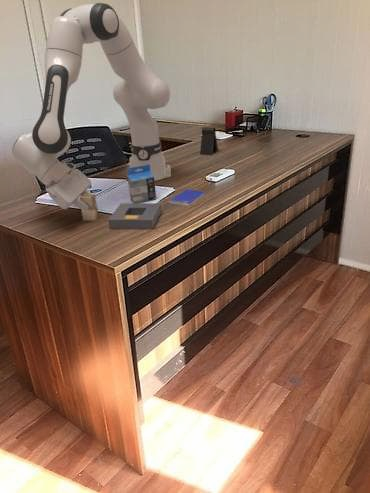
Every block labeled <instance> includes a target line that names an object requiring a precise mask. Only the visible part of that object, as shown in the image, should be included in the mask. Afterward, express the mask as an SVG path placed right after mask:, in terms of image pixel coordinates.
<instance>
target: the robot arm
mask: <svg viewBox="0 0 370 493" xmlns="http://www.w3.org/2000/svg"><path fill="white" fill-rule="evenodd" d="M96 42H99V44H100V46H101V48H102V51H103V53H104V54H105V56H106V58H107V60H108V63H109V65H110V66H111V68H112V70H113V72H114V74H116V75H117V76H118V77H119V78H121V79H119V80H117V81H116V82H115V84H114V86H113V89H112V96H113V99H114V100H115V102H116V103H117V104H118V105H119V106H120V108H121V109H122V111H123V113H124V114H125V117H126V118H127V122H128V125H129V131H130V138H131V146H130V147H131V153H132V155H131V156H130V157H129V159H128V160H129V168H132V167H137V166H143V165H149V164H150V171H151V173H152V174H153V176H154V180H155V182H156V181H160V180H163V179H166V178H171V177H172V168H171V164H166V156H165V154H164V153H163V151H162V144H161V140H160V134H159V124H158V121H157V120H156V119H155V118H154V117H152V115H151V113H150V111H149V110H156V109H161V108H165V107H166V106H167V104H168V103H169V101H170V97H171V90H170V86H169V85H168V83H167V82H166V81H164V80H162V79H161V78H159V77H158V76H157V75H156V74H155V73H154V72H153V71H152V70H151V69H150V68H149V67H148V65H147V64H146V62H145V61H144V60H143V57H142V56H141V55H140V52H139V50H138V48H137V46H136V43H135V42H134V39H133V37H132V35H131V33H130V31H129V29H128V27H127V26H126V24H125V22H124V21H123V20H122V18H121V17H120V15H119V14H118V13H117V12H116V10H115V9H114V8H113V7H112V6H111V5H110V4H108V3H105V2H97V3H88V4H87V3H86V4H82V5H79V6H76V7H73V8H68V9H66V10H64V11H63V12H62V13H61V14H60V15H59V16H56V17H55V18H54V19H53V20H52V21H51V24H50V27H49V31H48V34H47V39H46V44H45V45H46V46H45V54H44V73H45V76H44V77H45V87H44V95H43V100H42V101H43V102H42V108H41V112H40V116H39V118H38V120H37V121H36V122H35V124H34V126H33V128H32V132H29V133H26V134H24V133H23V134H21V135H20V136H18V138H16V140H15V142H14V143H13V146H12V150H11V151H12V155H13V158H14V159H16V161H17V162H18V163H19V164H20V165H21V166H22V167H23V168H24V169H26V171H28V172H29V173H31V174H32V175H34V176H36V177H37V179H38V180H39V182H41V183H42V184H44V185H45V187H44V188H45V190H46V193H47V194H48V196H49V197H50V198H51V200H53V202H54V203H55V204H57V205H58V206H59V208H61V209H63V210H68V208H70V206H72V205H74V206H76V207H79V208H80V209H81V208H82V209H84V210H85V211H86V210H87V209H88V208H89V205H88V204H87V203H84V202H82V201H80V199H79V198H80V197H81V196H82V195H83V194H91V192H90V191H89V190H88V189H89V188H90V186H91V185H92V181H91V180H90V179H89V177H88V176H87V175H85V174H84V173H83V171H81V170H80V169H78V168H76V165H75V164H74V163H72V162H61V161H60V160H59V159H58V158H59V157H60V156H62V155H63V154H64V153H66V152H67V151H68V150H69V148H70V147H71V145H72V144H71V143H72V137H71V135H70V132H69V131H68V130H67V128H66V126H65V120H64V118H65V117H64V116H65V110H66V109H65V108H66V103H67V96H68V91H69V89H70V88H71V86H72V85H74V84H75V83H76V82H77V81H78V78H79V75H80V72H81V67H82V62H83V61H82V60H83V52H84V50H83V49H84V48H83V47H84V44H94V43H96ZM142 170H143V169H138V170H135V172H136V171H142Z"/></svg>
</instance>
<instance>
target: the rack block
mask: <svg viewBox="0 0 370 493" xmlns="http://www.w3.org/2000/svg"><path fill="white" fill-rule="evenodd" d="M161 214H162V203H159V202H158V203H155V202H154V203H153V202H152V203H151V202H149V203H148V202H147V203H146V202H144V203H143V202H139V203H133V202H128V203H127V202H126V203H125V202H121V203H119V205H118V206H117V208H116V209H115V210H114V211H113V213H112V214H111V216H110V217H109V218H108V220H107V221H108V226H109V229H113V230H114V229H119V230H120V229H121V230H122V229H123V230H124V229H125V230H126V229H130V230H131V229H132V230H140V229H141V230H153V229H154V228H155V226H156V224H157V222H158V220H159V218H160V216H161Z"/></svg>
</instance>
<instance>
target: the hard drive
mask: <svg viewBox="0 0 370 493" xmlns="http://www.w3.org/2000/svg"><path fill="white" fill-rule="evenodd" d="M205 194H206V192H205V191H202V190H201V191H200V190H193V189H185V190H182V191H181V192H179V193H177V195H175V196H174V197H172V198H171V199H169V200H168V203H169V204H175V205H182V206H187V207H189V206H191V205H192V204H193V203H195V202H197V201H198V200H199V199H200V198H202V197H203V196H204V195H205Z"/></svg>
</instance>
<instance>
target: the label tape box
mask: <svg viewBox="0 0 370 493" xmlns="http://www.w3.org/2000/svg"><path fill="white" fill-rule="evenodd" d="M138 169H143V170H142V171H136V172H135V170H138ZM126 173H127V174H126V175H127V176H126V177H127V184H128V189H129V190H128V191H129V198H130V202H131V201H132V202H131V203H138V202H139V203H143V201H144V202H148V201H147V200H149V201H152V199H153V200H156V199H157V193H156V183H155V182H156V181H155V180H154V176H153V174H152V173H151V171H150V164H149V165H143V166H137V167H132V168H130V167H127V168H126Z"/></svg>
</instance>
